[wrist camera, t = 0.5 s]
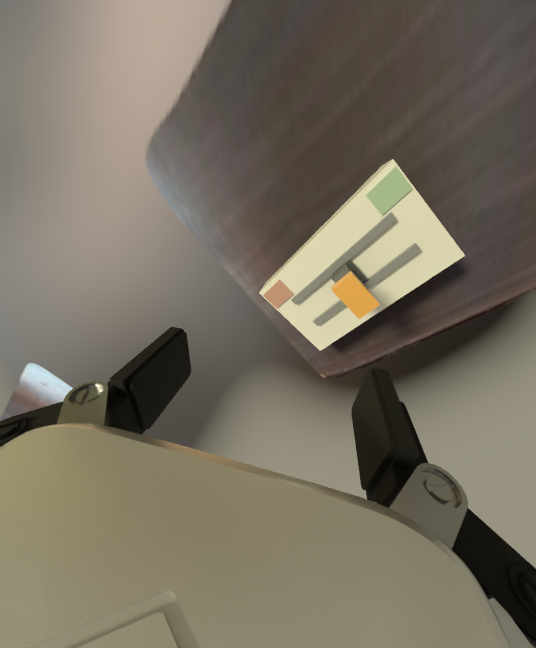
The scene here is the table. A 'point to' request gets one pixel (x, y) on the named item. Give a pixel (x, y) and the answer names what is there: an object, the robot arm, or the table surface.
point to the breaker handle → (353, 290)
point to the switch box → (362, 256)
